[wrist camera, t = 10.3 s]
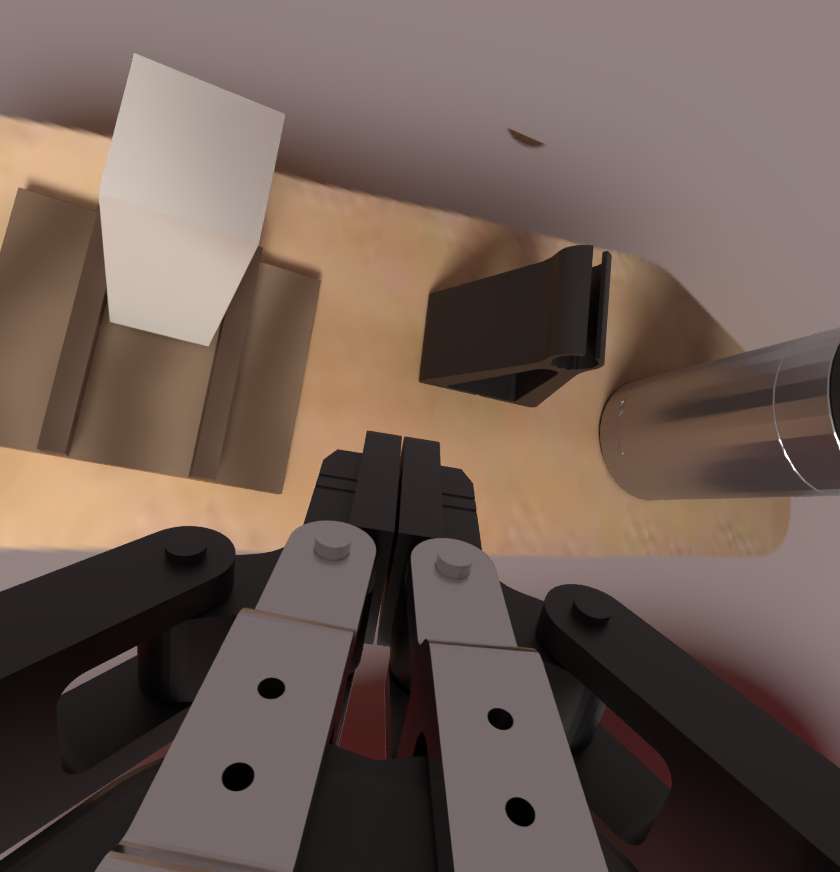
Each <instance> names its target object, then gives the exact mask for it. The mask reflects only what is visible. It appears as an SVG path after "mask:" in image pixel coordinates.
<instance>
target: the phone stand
mask: <svg viewBox="0 0 840 872" xmlns="http://www.w3.org/2000/svg"><path fill="white" fill-rule="evenodd" d="M592 258H593V246H591V245H577V246H571V247H567V248H564V249H562V250H560V251H559V252H558V253H556V254H555V255H554V256H553V257H551V258H549V259H547V260H545V261H543V262H540V263H536V264H533V265H529V266H526V267H522V268H519V269H515V270H512V271H508V272H505V273H502V274H498V275H495V276H491V277H488V278H484V279H481V280H477V281H474V282H470V283H467V284H463V285H460V286H456V287H453V288H449V289H446V290H442V291H439V292H435V293H432V294H430V295H429V302H428V311H427V319H426V328H425V336H424V345H423V353H422V362H421V370H420V379H419V382H421V383H425V384H429V385H434V386H438V387H442V388H447V389H451V390H456V391H460V392H465V393H469V394H473V395H480V396H482V397H487V398H491V399H496V400H500V401H504V402H509V403H513V404H518V405H522V406H527V407H537V406H538V405H539V404H540V403H542V402H543V401H544V400H545V399H547V398H548V397H549V396H550V395H552V394H553V393H554V392H555V391H557V390H558V389H559V388H560V387H562V386H563V385H564V384H565V383H567V382H568V381H569V380H571V379H572V378H573V377H574V376H576V375H577V374H579V373H582V372H585V371H589V370H593V369H597V368H600V367H602V366H603V365H604V361H605V346H606V331H607V317H608V302H609V287H610V272H611V254H610V253H609V252H608V251H605V252H603V254H602V264H600V265H598V266H595V267H592Z"/></svg>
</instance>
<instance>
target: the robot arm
mask: <svg viewBox="0 0 840 872" xmlns="http://www.w3.org/2000/svg"><path fill="white" fill-rule="evenodd" d="M401 440H402V436H398V435H392V434H386V433H380V432H374V431H368V430H367V433H366V439H365V444H364V449H363V453H357V452H351V451H344V450H338V449H337V450H336V451H335V452H333V453H332V454H331V455H329V456H328V457H327V458H325V459H324V460H323V463H322V466H321V469H320V473H319V476H318V479H317V482H316V486H315V489H314V492H313V495H312V498H311V502H310V505H309V508H308V511H307V515H306V518H305V521H304V524H303V525H302V526H300V527H299V528H297V529H296V530H295V531H293V532H292V534H291V535H290V537H289V539H288V541H287V543H286V545H285V547H283V548H281V549H278V550H275V551H272V552H267V553H260V554H248V555H236V554H235V548H234V545H233V543H232V542H231V541H230V540H229V539H228V538H227V537H226V536H224V535H223V534H221V533H219V532H217V531H215V530H212V529H208V528H203V527H196V526H181V527H173V528H169V529H165V530H162V531H159V532H156V533H153V534H151V535H148V536H145V537H143V538H140V539H138V540H135V541H132V542H130V543H127V544H124V545H122V546H119V547H117V548H114V549H111V550H109V551H106V552H103V553H101V554H98V555H96V556H93V557H90V558H88V559H85V560H83V561H80V562H77V563H75V564H72V565H69V566H67V567H64V568H62V569H59V570H56V571H54V572H51V573H48V574H46V575H43V576H40V577H38V578H35V579H33V580H30V581H27V582H25V583H23V584H20V585H17V586H14V587H12V588H9V589H7V590H4V591H1V592H0V854H1V853H3V852H4V851H6V850H7V849H9V848H11V847H12V846H14V845H15V844H17V843H18V842H20V841H21V840H23V839H24V838H26V837H27V836H29V835H30V834H32V833H33V832H35V831H36V830H38V829H39V828H41V827H42V826H44V825H45V824H47V823H48V822H50V821H52V820H53V819H55V818H56V817H58V816H59V815H61V814H62V813H64V812H65V811H67V810H68V809H70V808H71V807H72V806H74V805H76V804H77V803H79V802H80V801H82V800H83V799H85V798H86V797H88V796H90V795H91V794H92V793H94V792H96V791H97V790H99V789H100V788H102V787H103V786H105V785H106V784H108V783H109V782H111V781H112V780H114V779H115V778H117V777H118V776H120V775H121V774H123V773H124V772H126V771H127V770H129V769H131V768H132V767H133V766H135V765H137V764H138V763H140V762H141V761H143V760H144V759H146V758H147V757H149V756H150V755H152V754H153V753H155V752H156V751H158V750H159V749H161V748H162V747H164V746H165V745H167V744H168V743H170V742H172V741H173V740H174V741H173V743H172V745H171V747H170V749H169V751H168V753H167V755H166V757H164V758H162V759H158V760H156V761H153V762H151V763H149V764H146V765H144V766H142V767H139V768H137V769H135V770H133V771H132V772H130V773H128V774H126V775H124V776H122V777H121V778H119V779H117V780H115V781H114V782H112V783H111V784H109V785H108V786H106V787H105V788H103V789H102V790H100V791H99V792H97V793H96V794H95V795H93V796H92V797H90V798H89V799H87V800H86V801H85V802H83V803H82V804H80V805H79V806H78V807H76V808H75V809H73V810H72V811H70V812H69V813H68V814H66V815H65V816H63V817H62V818H60V819H59V820H58V821H56V822H55V823H53V824H52V825H50V826H49V827H48V828H46V829H45V830H43V831H42V832H40V833H39V834H38V835H36V836H35V837H33V838H32V839H30V840H29V841H28V842H26V843H25V844H23V845H22V846H20V847H19V848H18V849H16V850H15V851H13V852H12V853H10V854H9V855H8V856H6V857H5V858H3V859H2V860H0V872H840V768H839V767H837V766H836V765H835V764H833V763H832V762H831V761H829V760H828V759H827V758H825V757H824V756H823V755H822V754H820V753H819V752H818V751H816V750H815V749H813V748H812V747H811V746H810V745H808V744H807V743H805V742H804V741H803V740H802V739H800V738H799V737H797V736H796V735H795V734H794V733H792V732H791V731H790V730H788V729H787V728H785V727H784V726H783V725H782V724H780V723H779V722H778V721H776V720H775V719H774V718H772V717H771V716H770V715H768V714H767V713H766V712H764V711H763V710H762V709H760V708H759V707H758V706H756V705H755V704H754V703H752V702H751V701H750V700H748V699H747V698H746V697H744V696H743V695H742V694H741V693H739V692H738V691H736V690H735V689H734V688H733V687H731V686H730V685H729V684H727V683H726V682H725V681H723V680H722V679H721V678H719V677H718V676H717V675H715V674H714V673H713V672H711V671H710V670H709V669H707V668H706V667H705V666H703V665H702V664H701V663H699V662H698V661H697V660H695V659H694V658H693V657H691V656H690V655H689V654H687V653H686V652H685V651H683V650H682V649H681V648H679V647H678V646H677V645H675V644H674V643H673V642H672V641H670V640H669V639H668V638H666V637H665V636H664V635H662V634H661V633H660V632H658V631H657V630H656V629H654V628H653V627H651V626H650V625H649V624H648V623H646V622H645V621H643V620H642V619H641V618H640V617H638V616H637V615H636V614H634V613H633V612H632V611H630V610H629V609H627V608H626V607H625V606H624V605H622V604H621V603H620V602H618V601H617V600H616V599H614V598H613V597H611V596H609V595H608V594H606V593H604V592H602V591H599V590H597V589H594V588H591V587H588V586H583V585H577V584H566V585H560V586H557V587H555V588H553V589H551V590H550V591H549V592H548V594H547V596H546V597H545V600H544V601H542V600H539V599H537V598H534V597H531V596H528V595H526V594H523V593H520V592H518V591H516V590H514V589H512V588H510V587H508V586H506V585H505V584H503V583H502V582H500V581H499V578H498V575H497V571H496V568H495V565H494V563H493V561H492V560H491V559H490V557H489V556H488V555H487V554H486V553H484V552H483V551H482V548H481V540H480V533H479V525H478V518H477V513H476V503H475V501H474V500H475V495H474V488H473V483H472V482H471V480H470V479H469V478H468V477H467V476H466V474H465V473H464V472H463V471H462V469H458V468H452V467H445V466H441V464H440V443H439V442H436V441H430V440H424V439H417V438H411V437H404V441H403V445H402V451H401ZM600 443H601V449H602V454H603V457H604V460H605V463H606V466H607V468H608V470H609V471H610V473H611V475H612V477H613V478H614V479H615V481H616V482H617V483H618V484H619V485H620V486H621V487H622V488H623V489H624V490H625V491H627V492H628V493H629V494H631V495H633V496H635V497H637V498H641V499H646V500H675V499H728V498H770V497H813V496H839V495H840V328H836V329H832V330H828V331H824V332H820V333H817V334H813V335H810V336H806V337H802V338H798V339H795V340H791V341H787V342H783V343H779V344H775V345H771V346H768V347H764V348H760V349H756V350H752V351H748V352H744V353H740V354H737V355H733V356H729V357H725V358H721V359H717V360H714V361H710V362H706V363H702V364H698V365H694V366H690V367H687V368H683V369H679V370H675V371H671V372H667V373H663V374H659V375H655V376H652V377H648V378H644V379H640V380H636V381H633V382H629V383H627V384H625V385H624V386H622V387H620V388H619V389H618V390H617V391H616V392H615V393H614V394H613V395H612V396H611V398H610V399H609V401H608V402H607V404H606V407H605V409H604V412H603V414H602V420H601V425H600ZM400 453H401V456H400ZM380 605H381V607H380ZM380 608H381V609H380ZM379 611H380V618H379V629H378V640H377V645H383V646H389V647H390V659H389V664H388V669H387V674H386V679H385V687H384V688H385V733H386V760H373V759H370V758H367V757H364V756H361V755H358V754H356V753H353V752H350V751H347V750H345V749H342V748H340V747H338V744H339V740H340V735H341V731H342V727H343V723H344V718H345V714H346V709H347V705H348V701H349V697H350V692H351V688H352V684H353V678H354V673H355V669H356V668H357V667H358V665H359V663H360V661H361V656H362V651H363V645H364V643H366V644H373V642H374V637H375V631H376V626H377V621H378V615H379ZM135 646H137V654H138V655H137V656H135V657H133V658H131V659H129V660H127V661H125V662H124V663H122V664H120V665H118V666H116V667H114V668H112V669H110V670H108V671H106V672H104V673H102V674H100V675H99V676H97V677H95V678H93V679H91V680H89V681H87V682H85V683H83V684H81V685H80V686H78V687H76V688H74V689H72V690H70V691H68V692H66V693H64V694H62V692H63V691H64V689H65V688H66V687H67V686H68V685H69V684H70V683H71V682H72V681H73V680H74V679H76V678H77V677H78V676H80V675H81V674H83V673H85V672H86V671H88V670H90V669H92V668H94V667H96V666H98V665H100V664H102V663H104V662H106V661H108V660H110V659H112V658H114V657H116V656H118V655H120V654H122V653H124V652H126V651H127V650H129V649H131V648H133V647H135ZM61 694H62V695H61ZM606 706H608V707H609V708H610V709H611V710H612V711H613V712H614V713H615V714H616V715H617V716H619V717H620V718H621V719H622V720H623V721H624V722H625V723H626V724H628V725H629V726H630V727H631V728H632V729H633V730H634V731H635V732H636V733H638V734H639V735H640V736H641V737H642V738H643V739H644V740H645V741H646V742H647V743H649V744H650V745H651V746H652V747H653V748H654V749H655V750H656V751H657V752H658V753H659V754H660V755H661V756H662V758H663V759H664V761H665V762H666V764H667V766H668V768H669V770H670V773H671V778H672V787H671V789H670V788H669V787H667V786H666V785H665V784H664V783H663V782H662V781H661V780H660V779H659V778H658V777H657V776H656V775H655V774H654V773H652V772H651V771H650V770H649V769H648V768H647V767H646V766H645V765H644V764H643V763H642V762H641V761H640V760H638V759H637V758H636V757H635V756H634V755H633V754H632V753H631V752H630V751H629V750H628V749H627V748H626V747H624V746H623V745H622V744H621V743H620V742H619V741H618V740H617V739H616V738H614V736H613V735H612V734H611V733H610V732H608V731H607V730H606V729H605V728H604V727H603V726H602V725H601V724H600V723H599V721H600V719H601V716H602V714H603V712H604V709H605V707H606Z"/></svg>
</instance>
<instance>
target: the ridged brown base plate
mask: <svg viewBox="0 0 840 872" xmlns="http://www.w3.org/2000/svg"><path fill="white" fill-rule="evenodd" d="M262 249H263V248H262V247H259V246H258V247H257V249H256V251H255V253H254V255H253V257H252V259H251V261H250V263H249V265H248V267H247V269H246V271H245V273H244V275H243V277H242V279H241V281H240V283H239V286H238V288H237V290H236V292H235V294H234V296H233V298H232V300H231V302H230V304H229V306H228V308H227V310H226V312H225V314H224V316H223V318H222V320H221V322H220V324H219V326H218V328H217V330H216V332H215V334H214V336H213V338H212V340H211V342H210V344H209V347H208V346H204V345H200V344H196V343H192V342H188V341H184V340H180V339H176V338H172V337H168V336H164V335H160V334H156V333H152V332H148V331H144V330H140V329H136V328H132V327H128V326H124V325H120V324H116V323H112V322H110V317H109V306H108V295H107V283H106V272H105V261H104V249H103V238H102V227H101V215H100V204H99V206H98V210H97V211H94V210H91V209H87V208H84V207H81V206H78V205H74V204H71V203H68V202H65V201H61V200H58V199H55V198H52V197H48V196H45V195H42V194H39V193H35V192H32V191H29V190H26V189H22V188H18V191H17V195H16V198H15V202H14V205H13V209H12V212H11V216H10V220H9V223H8V227H7V230H6V234H5V237H4V241H3V244H2V248H1V252H0V447H6V448H12V449H17V450H23V451H29V452H35V453H41V454H47V455H52V456H58V457H64V458H70V459H76V460H82V461H88V462H93V463H99V464H105V465H111V466H117V467H123V468H128V469H134V470H140V471H146V472H152V473H158V474H163V475H169V476H175V477H181V478H187V479H193V480H198V481H204V482H210V483H216V484H222V485H228V486H234V487H239V488H245V489H251V490H257V491H263V492H269V493H274V494H282V489H283V484H284V478H285V473H286V467H287V462H288V457H289V451H290V446H291V440H292V435H293V429H294V424H295V418H296V413H297V407H298V402H299V396H300V391H301V386H302V380H303V375H304V369H305V364H306V358H307V353H308V347H309V342H310V336H311V331H312V325H313V320H314V315H315V309H316V304H317V298H318V293H319V287H320V282H321V280H318V279H314V278H311V277H308V276H305V275H301V274H298V273H295V272H292V271H288V270H285V269H282V268H279V267H275V266H272V265H269V264H266V263H262V262H260V259H261V254H262Z"/></svg>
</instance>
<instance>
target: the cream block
mask: <svg viewBox="0 0 840 872" xmlns="http://www.w3.org/2000/svg"><path fill="white" fill-rule="evenodd" d="M284 119H285V114H284V113H282V112H279V111H277V110H274V109H272V108H269V107H267V106H264V105H262V104H259V103H257V102H254V101H252V100H249V99H247V98H244V97H242V96H239V95H237V94H234V93H232V92H229V91H227V90H225V89H222V88H220V87H217V86H215V85H212V84H210V83H207V82H205V81H202V80H200V79H197V78H195V77H192V76H190V75H187V74H185V73H182V72H180V71H177V70H175V69H172V68H170V67H167V66H165V65H162V64H160V63H157V62H155V61H152V60H150V59H147V58H145V57H143V56H140V55H138V54H135V53H134V57H133V60H132V65H131V68H130V72H129V76H128V80H127V84H126V88H125V92H124V96H123V99H122V103H121V107H120V111H119V115H118V119H117V123H116V127H115V130H114V134H113V138H112V142H111V146H110V150H109V154H108V158H107V162H106V166H105V169H104V173H103V177H102V181H101V185H100V189H99V204H100V215H101V227H102V238H103V249H104V261H105V272H106V283H107V295H108V306H109V317H110V322H112V323H116V324H120V325H124V326H128V327H132V328H136V329H140V330H144V331H148V332H152V333H156V334H160V335H164V336H168V337H172V338H176V339H180V340H184V341H188V342H192V343H196V344H200V345H204V346H208V347H209V344H210V342H211V340H212V338H213V336H214V334H215V332H216V330H217V328H218V326H219V324H220V322H221V320H222V318H223V316H224V314H225V312H226V310H227V308H228V306H229V304H230V302H231V300H232V298H233V296H234V294H235V292H236V290H237V288H238V286H239V283H240V281H241V279H242V277H243V275H244V273H245V271H246V269H247V267H248V265H249V263H250V261H251V259H252V257H253V255H254V253H255V251H256V249H257V247H258V245H259V241H260V236H261V232H262V227H263V222H264V217H265V212H266V207H267V202H268V197H269V192H270V187H271V183H272V178H273V173H274V168H275V163H276V158H277V153H278V148H279V143H280V138H281V133H282V128H283V124H284Z"/></svg>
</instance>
